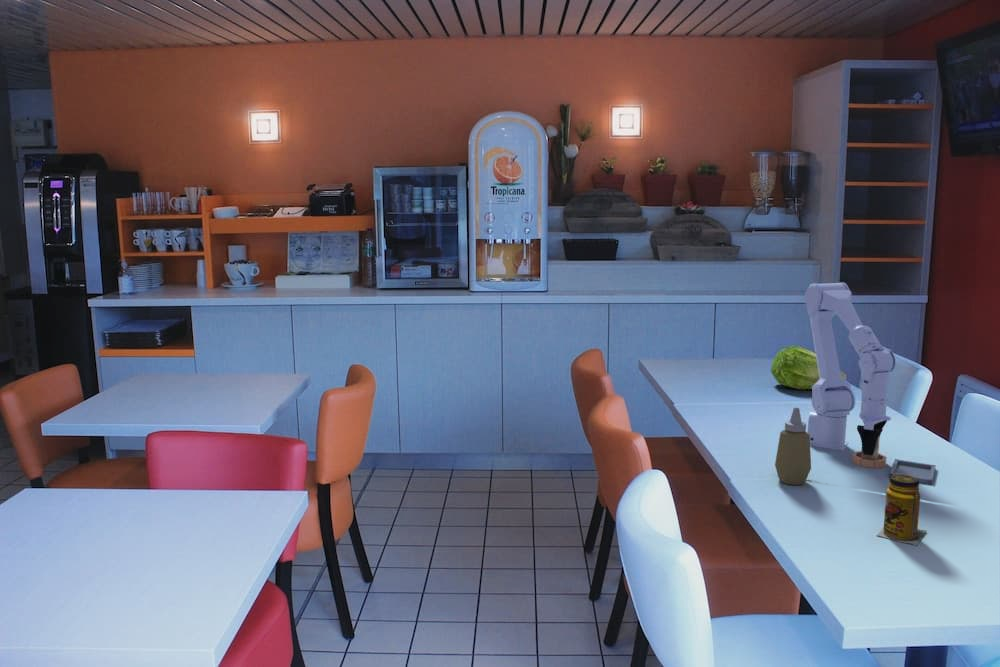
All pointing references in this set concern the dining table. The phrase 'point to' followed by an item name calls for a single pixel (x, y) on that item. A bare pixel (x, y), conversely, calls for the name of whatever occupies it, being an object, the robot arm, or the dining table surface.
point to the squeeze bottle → (793, 451)
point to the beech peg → (875, 454)
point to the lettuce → (796, 368)
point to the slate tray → (914, 470)
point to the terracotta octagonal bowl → (869, 461)
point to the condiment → (902, 510)
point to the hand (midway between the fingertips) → (870, 450)
